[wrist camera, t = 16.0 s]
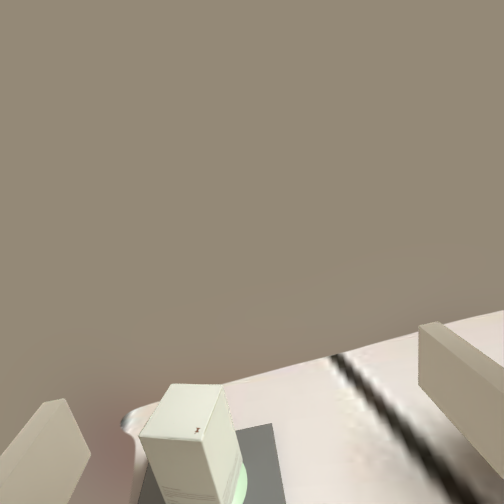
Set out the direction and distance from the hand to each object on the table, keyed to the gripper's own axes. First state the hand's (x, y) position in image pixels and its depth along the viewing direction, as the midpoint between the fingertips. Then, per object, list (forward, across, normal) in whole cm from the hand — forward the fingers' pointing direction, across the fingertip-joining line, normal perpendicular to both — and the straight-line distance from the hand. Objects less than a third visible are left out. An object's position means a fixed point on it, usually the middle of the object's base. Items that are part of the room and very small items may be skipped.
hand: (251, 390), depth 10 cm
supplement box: (+17, -9, -29) cm, 34 cm away
